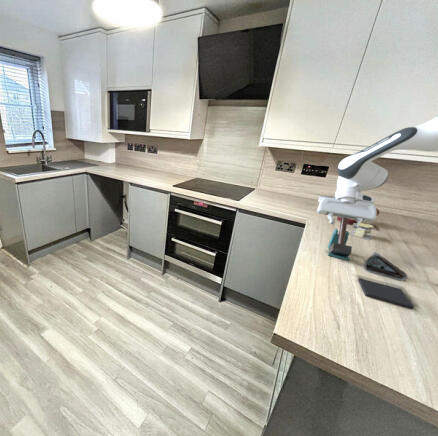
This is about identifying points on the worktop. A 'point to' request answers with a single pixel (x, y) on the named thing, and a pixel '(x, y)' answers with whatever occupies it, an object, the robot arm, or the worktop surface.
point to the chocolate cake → (384, 267)
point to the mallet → (341, 241)
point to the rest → (335, 239)
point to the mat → (385, 293)
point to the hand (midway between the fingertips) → (343, 225)
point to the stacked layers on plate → (363, 231)
